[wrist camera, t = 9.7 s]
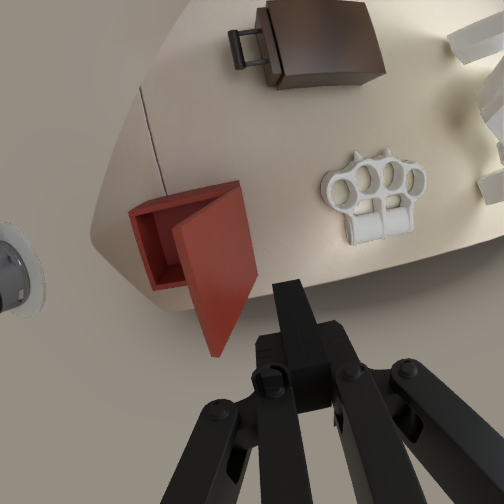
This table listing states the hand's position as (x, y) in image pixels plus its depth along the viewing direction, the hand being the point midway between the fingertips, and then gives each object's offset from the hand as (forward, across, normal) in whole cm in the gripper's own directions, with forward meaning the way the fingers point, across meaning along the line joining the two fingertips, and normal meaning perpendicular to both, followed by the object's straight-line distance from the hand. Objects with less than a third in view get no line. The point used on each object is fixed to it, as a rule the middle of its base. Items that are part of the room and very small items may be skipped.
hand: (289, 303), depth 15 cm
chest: (+28, -10, -2) cm, 30 cm away
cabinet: (+28, +12, +22) cm, 38 cm away
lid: (+13, -5, -2) cm, 14 cm away
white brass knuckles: (+29, +18, -1) cm, 34 cm away
